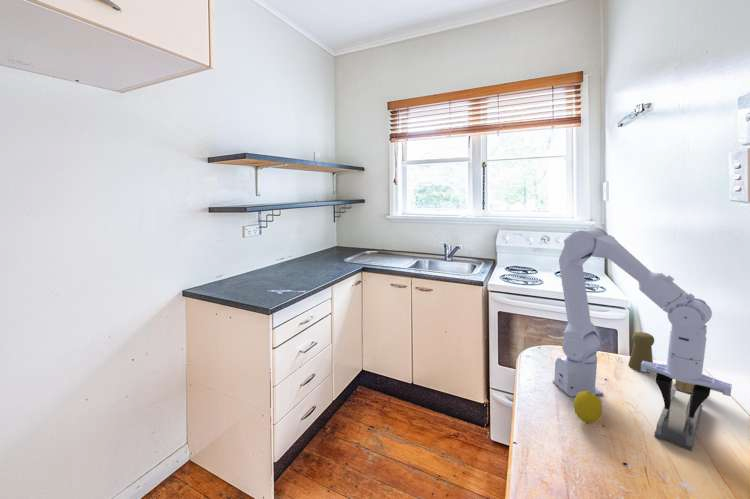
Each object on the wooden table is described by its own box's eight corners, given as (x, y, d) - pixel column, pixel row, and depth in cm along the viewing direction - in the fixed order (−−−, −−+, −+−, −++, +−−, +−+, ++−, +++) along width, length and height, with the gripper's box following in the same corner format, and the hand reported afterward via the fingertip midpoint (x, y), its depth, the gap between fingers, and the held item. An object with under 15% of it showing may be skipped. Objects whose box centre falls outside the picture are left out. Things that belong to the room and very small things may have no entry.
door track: (691, 451, 68) (693, 438, 68) (654, 436, 73) (655, 424, 72) (701, 409, 81) (703, 397, 81) (669, 398, 86) (670, 388, 85)
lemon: (601, 434, 74) (603, 401, 73) (572, 426, 77) (574, 394, 76) (600, 419, 79) (602, 388, 78) (573, 412, 82) (574, 382, 81)
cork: (658, 372, 98) (662, 337, 97) (638, 373, 99) (641, 337, 97) (642, 362, 104) (645, 329, 103) (623, 363, 105) (626, 329, 103)
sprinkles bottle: (691, 395, 87) (697, 347, 85) (670, 387, 91) (675, 340, 89) (700, 391, 89) (706, 343, 87) (679, 382, 93) (684, 337, 91)
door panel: (682, 436, 71) (685, 410, 70) (667, 430, 73) (670, 405, 72) (687, 419, 77) (690, 395, 76) (673, 414, 78) (675, 390, 78)
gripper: (735, 359, 70) (727, 418, 72) (647, 339, 80) (642, 391, 82) (733, 371, 65) (725, 434, 67) (640, 348, 76) (635, 403, 78)
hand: (679, 411), depth 74 cm, fingers open, 3 cm apart
